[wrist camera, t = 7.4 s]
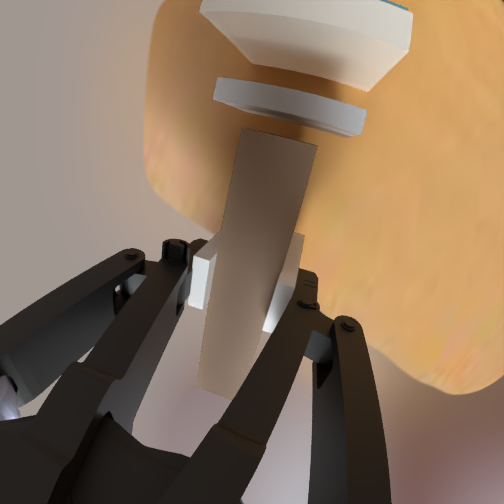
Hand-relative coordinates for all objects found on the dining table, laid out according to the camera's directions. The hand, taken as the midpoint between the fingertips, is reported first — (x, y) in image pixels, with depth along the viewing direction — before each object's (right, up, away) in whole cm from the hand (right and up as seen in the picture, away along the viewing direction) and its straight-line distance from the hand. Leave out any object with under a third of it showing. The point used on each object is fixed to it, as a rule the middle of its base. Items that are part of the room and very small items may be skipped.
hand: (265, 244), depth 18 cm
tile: (+3, +12, -3) cm, 13 cm away
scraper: (0, 0, 0) cm, 0 cm away
